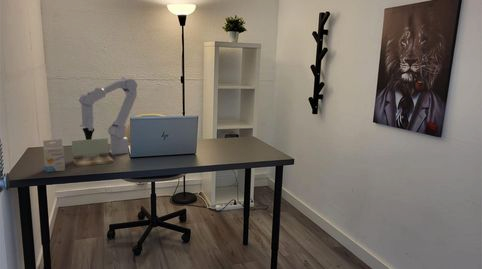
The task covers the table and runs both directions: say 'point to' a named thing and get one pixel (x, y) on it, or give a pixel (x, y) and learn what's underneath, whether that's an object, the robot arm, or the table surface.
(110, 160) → the base leaf
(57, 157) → the ink box
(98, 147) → the hinge leaf
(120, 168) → the table surface
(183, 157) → the table surface
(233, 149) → the table surface
